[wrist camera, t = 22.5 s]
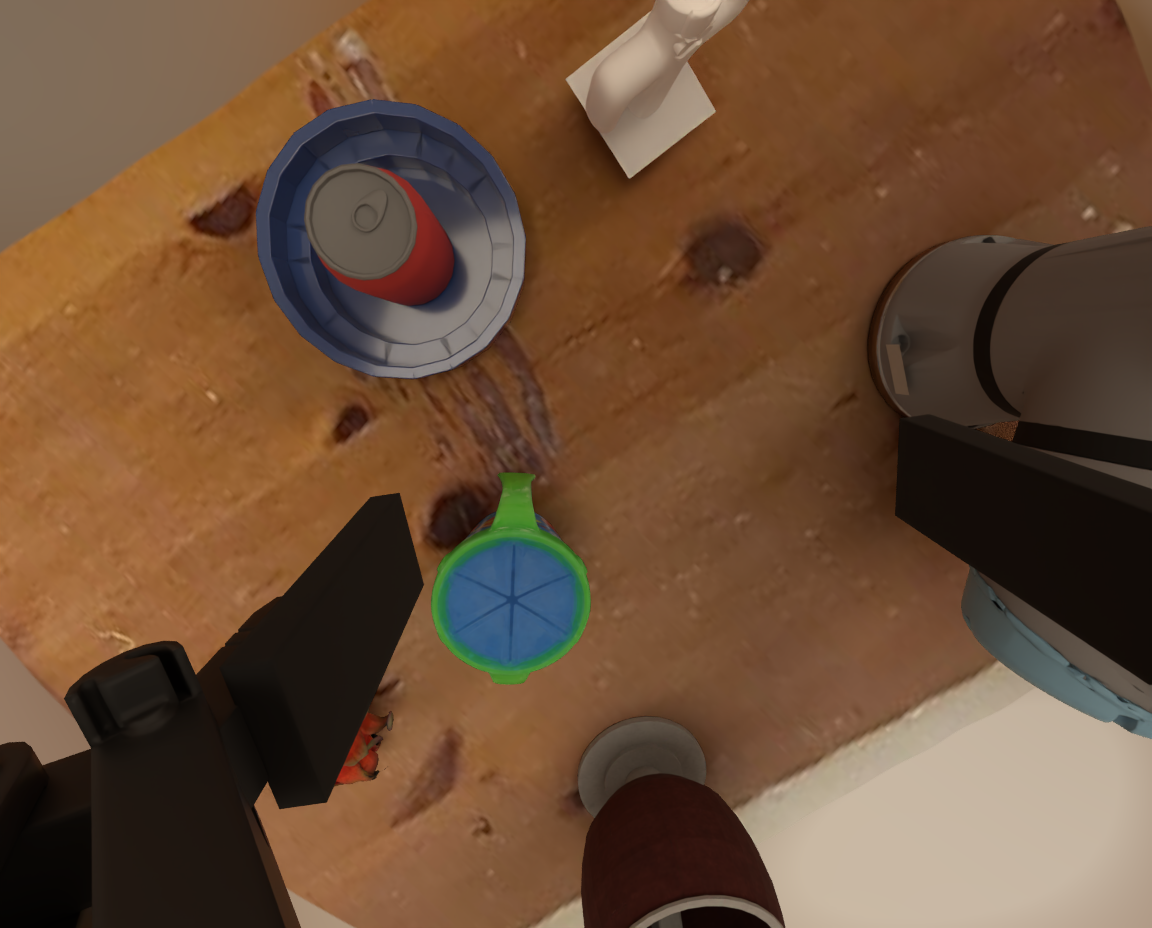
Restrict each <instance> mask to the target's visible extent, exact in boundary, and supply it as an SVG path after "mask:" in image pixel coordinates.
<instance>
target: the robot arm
mask: <svg viewBox="0 0 1152 928" xmlns="http://www.w3.org/2000/svg"><path fill="white" fill-rule="evenodd" d="M868 356H869V364H870V369H871V373H872V376H873V380H874V382H875V384H876V387H877V389H878V391H879V392H880V394H881V396H882V397H883V399H884V400H885V401H886V403H887V404H888V405H889V406H890V407H891V408H892V409H893V410H894V411H895V412H897V413H898V414H899V415H901V416H902V417H904V418H900V422H899V443H898V465H897V486H896V507H895V516H897V517H898V518H900V519H901V520H903V521H904V522H906V523H907V524H909V525H910V526H912V527H913V528H915V529H916V530H918V531H919V532H921V533H922V534H924V535H925V536H927V537H928V538H930V539H931V540H933V541H934V542H936V543H937V544H939V545H940V546H942V547H943V548H945V549H946V550H948V551H949V552H951V553H952V554H954V555H955V556H957V557H958V558H960V559H961V560H963V561H964V562H966V563H967V564H969V567H970V570H969V575H968V578H967V582H966V586H965V589H964V593H963V597H962V602H961V608H962V614H963V617H964V619H965V621H966V623H967V625H968V627H969V629H970V630H971V631H972V632H973V634H974V636H975V638H976V639H977V640H978V641H979V642H980V644H981V645H982V646H983V647H984V648H985V649H986V650H988V651H989V652H990V653H991V654H992V655H993V656H994V657H995V658H996V659H998V660H999V661H1000V662H1001V663H1003V664H1004V665H1005V666H1006V667H1008V668H1009V669H1010V670H1012V671H1013V672H1014V673H1016V674H1017V675H1019V676H1020V677H1022V678H1023V679H1025V680H1026V681H1028V682H1029V683H1031V684H1032V685H1034V686H1036V687H1037V688H1039V689H1040V690H1042V691H1044V692H1046V693H1047V694H1049V695H1051V696H1053V697H1054V698H1056V699H1058V700H1059V701H1061V702H1063V703H1065V704H1067V705H1069V706H1071V707H1073V708H1075V709H1076V710H1079V711H1081V712H1083V713H1085V714H1087V715H1089V716H1091V717H1094V718H1095V719H1098V720H1100V721H1103V722H1111V721H1113V722H1115V723H1116V724H1118V725H1120V726H1121V727H1123V728H1124V729H1126V730H1127V731H1129V732H1131V733H1134V734H1137V735H1140V736H1143V737H1147V738H1150V739H1152V226H1149V227H1144V228H1138V229H1133V230H1128V231H1123V232H1118V233H1113V234H1108V235H1103V236H1098V237H1093V238H1088V239H1083V240H1078V241H1073V242H1069V243H1063V244H1057V245H1051V244H1046V243H1040V242H1034V241H1028V240H1022V239H1014V238H1011V237H1005V236H997V235H977V236H969V237H964V238H960V239H956V240H952V241H948V242H944V243H942V244H939V245H936V246H934V247H932V248H930V249H927V250H926V251H924V252H922V253H921V254H919V255H918V256H916V257H915V258H914V259H912V260H911V261H910V262H909V263H908V264H906V265H905V266H904V267H903V268H902V269H901V270H900V271H899V272H898V273H897V275H896V276H895V277H894V278H893V279H892V281H891V282H890V284H889V285H888V286H887V288H886V289H885V291H884V293H883V295H882V296H881V298H880V300H879V303H878V305H877V307H876V310H875V313H874V315H873V319H872V323H871V327H870V332H869V341H868ZM1017 420H1019V423H1018V426H1017V429H1016V432H1015V435H1014V438H1013V441H1012V442H1011V441H1008V440H1005V439H1002V438H999V437H996V436H993V435H990V434H987V433H984V432H981V431H978V430H975V429H976V428H981V427H985V426H989V425H992V424H995V423H998V422H1010V421H1017ZM423 586H424V583H423V579H422V575H421V572H420V568H419V564H418V560H417V557H416V553H415V549H414V545H413V542H412V538H411V534H410V530H409V527H408V523H407V519H406V515H405V512H404V508H403V504H402V500H401V497H400V493H395V494H388V495H382V496H375V497H370V498H369V499H368V501H367V502H366V503H365V504H364V505H363V506H362V507H361V508H360V510H359V511H358V512H357V513H356V514H355V515H354V516H353V517H352V519H351V520H350V521H349V522H348V523H347V524H346V525H345V526H344V528H343V529H342V530H341V531H340V532H339V533H338V534H337V535H336V537H335V538H334V539H333V540H332V541H331V542H330V543H329V544H328V546H327V547H326V548H325V549H324V550H323V551H322V552H321V553H320V555H319V556H318V557H317V558H316V559H315V560H314V561H313V562H312V564H311V565H310V566H309V567H308V568H307V569H306V570H305V571H304V573H303V574H302V575H301V576H300V577H299V578H298V579H297V580H296V582H295V583H294V584H293V585H292V586H291V587H290V588H289V589H288V591H287V592H286V593H285V594H284V595H283V596H281V597H276V598H275V599H274V600H272V601H271V602H269V603H268V604H266V605H265V606H263V607H262V608H260V609H259V610H257V611H256V612H254V613H253V614H252V615H251V616H250V618H249V619H248V620H247V621H246V622H245V623H244V624H243V625H242V626H241V627H240V628H239V629H238V633H235V634H234V635H233V636H232V637H231V638H230V639H229V640H228V641H227V642H226V643H225V647H222V648H221V649H220V650H219V651H218V652H217V653H216V654H215V655H214V656H213V657H212V658H211V659H210V660H209V662H208V663H207V664H206V665H205V666H204V667H203V668H202V669H201V670H200V671H199V672H198V673H197V674H195V672H194V670H193V668H192V666H191V663H190V661H189V659H188V657H187V654H186V652H185V650H184V648H183V646H182V645H181V644H179V643H178V642H177V641H160V642H156V643H151V644H146V645H143V646H140V647H137V648H134V649H132V650H129V651H126V652H123V653H121V654H119V655H117V656H115V657H113V658H111V659H109V660H107V661H105V662H103V663H101V664H100V665H98V666H97V667H95V668H94V669H92V670H91V671H89V672H88V673H86V674H84V675H83V676H82V677H81V678H80V679H79V680H78V681H77V682H75V683H74V684H73V685H72V686H71V687H70V688H69V690H68V692H67V694H66V696H65V698H64V700H65V701H66V703H67V705H68V707H69V709H70V710H71V712H72V714H73V716H74V718H75V720H76V721H77V723H78V725H79V727H80V729H81V730H82V732H83V734H84V736H85V738H86V739H87V741H88V743H89V745H90V746H91V749H89V750H86V751H83V752H80V753H78V754H75V755H72V756H69V757H66V758H63V759H60V760H57V761H54V762H51V763H48V764H46V765H42V764H41V763H40V761H39V759H38V757H37V756H36V754H35V752H34V751H33V749H32V747H31V746H29V745H28V744H27V743H25V742H12V743H11V742H9V743H6V744H2V745H0V928H301V926H300V924H299V921H298V918H297V916H296V913H295V910H294V908H293V905H292V902H291V900H290V897H289V894H288V892H287V889H286V886H285V884H284V881H283V878H282V876H281V873H280V870H279V868H278V865H277V862H276V860H275V857H274V854H273V852H272V849H271V846H270V844H269V841H268V838H267V836H266V833H265V830H264V828H263V825H262V822H261V820H260V818H259V815H258V813H257V811H256V809H255V806H254V804H255V802H256V800H257V799H258V797H259V795H260V793H261V792H262V790H263V788H264V787H265V785H266V783H267V781H268V783H269V786H270V788H271V790H272V793H273V795H274V797H275V800H276V802H277V804H278V807H279V809H284V808H291V807H298V806H305V805H312V804H319V803H326V802H327V801H328V798H329V796H330V794H331V792H332V789H333V787H334V785H335V783H336V780H337V778H338V776H339V774H340V772H341V769H342V767H343V765H344V763H345V760H346V758H347V756H348V754H349V751H350V749H351V747H352V745H353V742H354V740H355V738H356V736H357V733H358V731H359V729H360V727H361V724H362V722H363V720H364V718H365V715H366V713H367V711H368V709H369V707H370V704H371V702H372V700H373V698H374V695H375V693H376V691H377V689H378V686H379V684H380V682H381V680H382V677H383V675H384V673H385V671H386V668H387V666H388V664H389V662H390V659H391V657H392V655H393V653H394V650H395V648H396V646H397V644H398V642H399V639H400V637H401V635H402V633H403V630H404V628H405V626H406V624H407V621H408V619H409V617H410V615H411V612H412V610H413V608H414V606H415V603H416V601H417V599H418V597H419V594H420V592H421V590H422V588H423Z"/></svg>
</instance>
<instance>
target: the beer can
mask: <svg viewBox="0 0 1152 928" xmlns="http://www.w3.org/2000/svg"><path fill="white" fill-rule="evenodd" d="M304 222H305V226H306V231H307V236H308V239H309V241H310V242H311V244H312V246H313V248H314V250H315V252H316V253H317V255H318V257H319V258H320V260H321V262H322V264H323V265H324V266H325V267H326V268H327V269H328V270H329V271H330V272H331V273H332V274H333V275H334V276H335V277H336V278H337V279H338V280H339V281H340V282H342V283H344V284H346V285H347V286H349V287H351V288H353V289H355V290H357V291H360V292H363V293H366V294H369V295H372V296H375V297H378V298H381V299H384V300H387V301H390V302H393V303H397V304H402V305H407V306H412V305H421V304H425V303H427V302H429V301H431V300H433V299H435V298H437V297H438V296H439V295H440V294H441V293H442V292H443V291H444V290H445V289H446V287H447V285H448V283H449V281H450V279H451V277H452V274H453V268H454V261H455V260H454V254H453V248H452V244H451V242H450V240H449V238H448V236H447V234H446V232H445V230H444V229H443V227H442V226H441V224H440V223H439V221H438V220H437V219H436V217H435V216H434V214H433V213H432V211H431V210H430V208H429V207H428V205H427V204H426V203H425V201H424V200H423V198H422V197H421V196H420V195H419V193H418V192H417V191H416V190H415V189H414V188H413V187H412V186H411V185H410V184H409V182H408V181H406V180H404V179H403V178H401V177H399V176H398V175H396V174H394V173H393V172H391V171H389V170H386V169H382V168H377V167H373V166H369V165H364V164H360V163H355V164H344V165H339V166H337V167H335V168H333V169H331V170H329V171H327V172H325V173H324V174H323V175H322V176H321V177H320V178H319V179H318V180H317V181H316V182H315V183H314V184H313V186H312V188H311V190H310V193H309V195H308V197H307V199H306V203H305V214H304Z"/></svg>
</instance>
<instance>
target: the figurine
mask: <svg viewBox="0 0 1152 928" xmlns="http://www.w3.org/2000/svg"><path fill="white" fill-rule="evenodd" d="M748 1H749V0H656V1H655V4H654V7H653V9H652V11H650V12H649V13H648V14H647V15H645V16H644V17H643V18H642V19H640V20H639V21H638V22H637V23H635V24H634V25H633V26H632V27H630V28H629V29H628V30H627V31H625V32H624V33H623V34H622V35H620V36H619V37H618V38H616V39H615V40H614V41H613V42H611V43H610V44H609V45H608V46H606V47H605V48H604V49H603V50H601V51H600V52H599V53H598V54H596V55H595V56H594V57H593V58H591V59H590V60H589V61H588V62H586V63H585V64H584V65H583V66H581V67H580V68H579V69H578V70H576V71H575V72H574V73H573V74H571V75H570V76H569V77H568V78H566V81H567V82H568V84H569V85H570V87H571V88H572V90H573V92H574V93H575V95H576V96H577V98H578V99H579V101H580V103H581V104H582V106H583V107H584V109H585V110H586V112H587V115H588V118H589V120H590V122H591V123H592V125H593V126H594V127H595V128H596V129H597V130H598V131H599V132H600V134H601V135H602V137H603V139H604V140H605V142H606V143H607V145H608V146H609V148H610V150H611V151H612V153H613V154H614V156H615V157H616V159H617V161H618V162H619V164H620V165H621V167H622V168H623V170H624V172H625V173H626V175H627V176H628V178H629V179H630V178H631V177H633V176H634V175H635V174H636V173H638V172H639V171H640V170H642V169H643V168H644V167H645V166H647V165H648V164H649V163H651V162H652V161H653V160H654V159H656V158H657V157H658V156H660V155H661V154H662V153H663V152H665V151H666V150H667V149H669V148H670V147H671V146H672V145H674V144H675V143H676V142H678V141H679V140H680V139H681V138H683V137H684V136H685V135H687V134H688V133H689V132H690V131H692V130H693V129H694V128H696V127H697V126H698V125H699V124H701V123H702V122H703V121H705V120H706V119H707V118H708V117H710V116H711V115H712V114H714V113H715V112H716V110H715V109H714V107H713V105H712V103H711V102H710V100H709V98H708V96H707V95H706V93H705V91H704V90H703V88H702V86H701V84H700V83H699V81H698V79H697V77H696V76H695V74H694V72H693V71H692V69H691V67H690V65H689V64H688V62H687V61H688V60H689V58H690V57H691V56H692V55H693V54H694V52H695V51H696V50H697V49H698V48H699V47H700V46H701V45H702V44H704V43H705V42H706V41H707V40H708V39H710V38H711V37H712V36H714V35H715V34H716V33H717V32H719V31H720V30H721V29H722V28H724V27H725V26H726V25H728V24H729V23H730V22H731V21H733V20H734V19H735V18H736V17H737V16H738V15H739V13H740V12H741V11H742V10H743V8H744V7H745V6H746V4H747V3H748Z"/></svg>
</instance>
